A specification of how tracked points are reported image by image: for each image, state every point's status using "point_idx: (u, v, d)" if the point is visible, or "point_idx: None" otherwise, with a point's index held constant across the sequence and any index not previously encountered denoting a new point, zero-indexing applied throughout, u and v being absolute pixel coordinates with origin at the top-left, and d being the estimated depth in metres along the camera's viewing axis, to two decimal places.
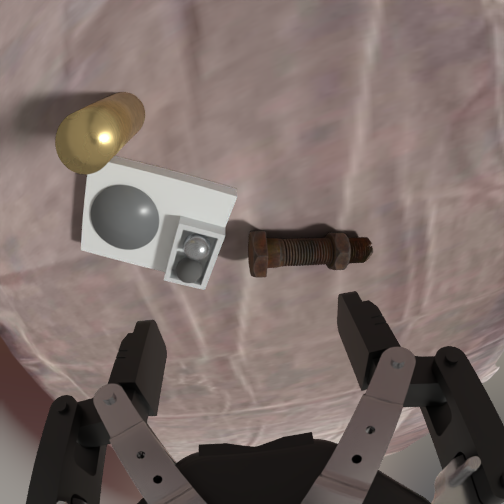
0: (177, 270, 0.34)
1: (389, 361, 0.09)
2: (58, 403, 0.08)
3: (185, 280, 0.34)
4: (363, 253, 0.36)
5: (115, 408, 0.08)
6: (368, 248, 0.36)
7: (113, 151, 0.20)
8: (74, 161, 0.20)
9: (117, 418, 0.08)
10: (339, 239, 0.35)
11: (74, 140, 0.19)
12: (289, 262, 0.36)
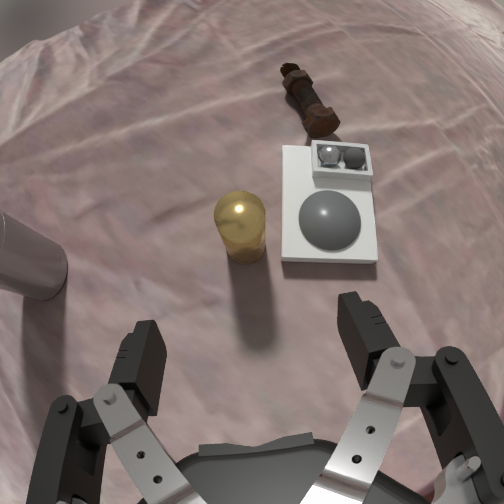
0: (355, 163, 0.38)
1: (389, 361, 0.09)
2: (58, 403, 0.08)
3: (359, 154, 0.38)
4: (289, 66, 0.45)
5: (115, 408, 0.08)
6: (284, 66, 0.45)
7: None
8: (255, 219, 0.30)
9: (117, 418, 0.08)
10: (286, 82, 0.44)
11: (238, 221, 0.30)
12: (316, 100, 0.42)
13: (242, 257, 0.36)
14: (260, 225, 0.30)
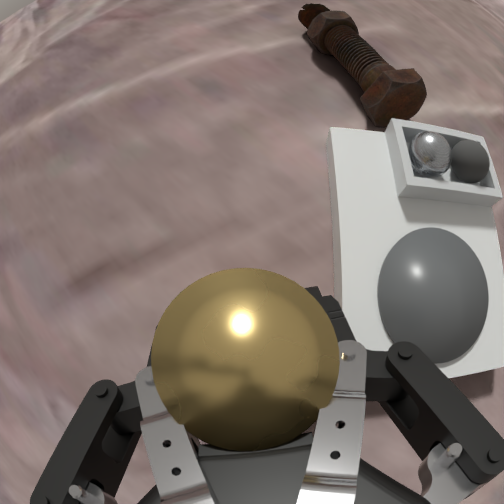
0: (478, 172, 0.15)
1: (339, 353, 0.09)
2: (98, 386, 0.09)
3: (485, 154, 0.15)
4: (314, 8, 0.22)
5: (155, 391, 0.09)
6: (306, 7, 0.23)
7: None
8: (304, 383, 0.07)
9: None
10: (315, 30, 0.22)
11: (239, 391, 0.07)
12: (378, 57, 0.19)
13: None
14: (321, 406, 0.07)
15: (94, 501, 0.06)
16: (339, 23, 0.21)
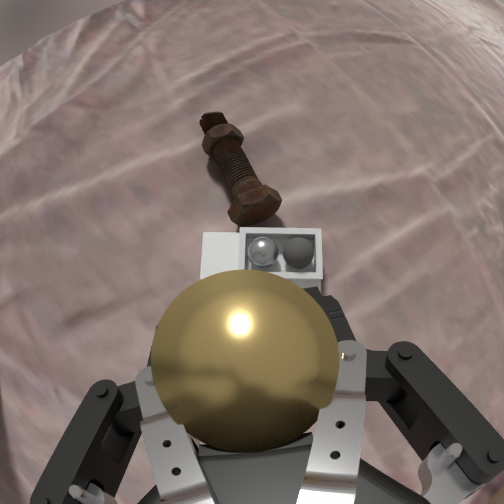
0: (297, 264, 0.29)
1: (339, 353, 0.09)
2: (98, 386, 0.09)
3: (304, 250, 0.28)
4: (209, 119, 0.35)
5: (155, 391, 0.09)
6: (203, 118, 0.36)
7: None
8: (304, 384, 0.07)
9: None
10: (206, 146, 0.35)
11: (239, 393, 0.07)
12: (244, 172, 0.32)
13: None
14: (321, 407, 0.07)
15: (94, 501, 0.06)
16: (222, 138, 0.34)
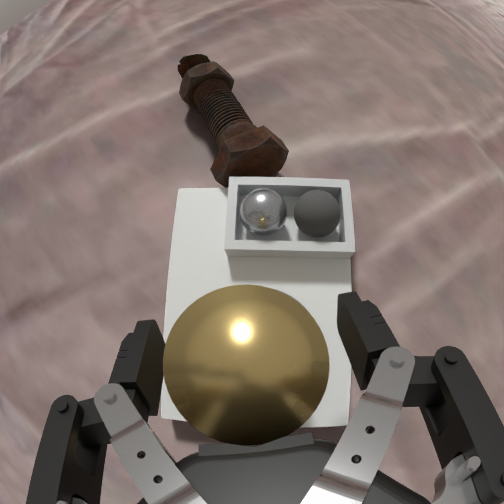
0: (317, 228, 0.18)
1: (388, 361, 0.09)
2: (58, 402, 0.08)
3: (327, 207, 0.18)
4: (189, 61, 0.25)
5: (116, 408, 0.08)
6: (182, 62, 0.25)
7: None
8: (298, 386, 0.08)
9: (118, 418, 0.08)
10: (184, 91, 0.24)
11: (241, 393, 0.09)
12: (235, 115, 0.22)
13: None
14: (313, 406, 0.08)
15: None
16: (205, 78, 0.23)
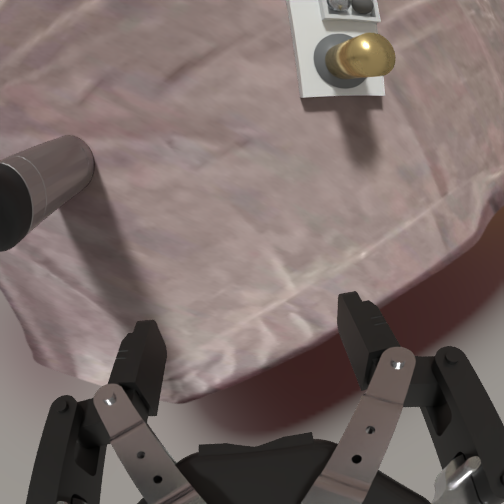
0: (365, 11, 0.29)
1: (389, 361, 0.09)
2: (58, 403, 0.08)
3: (369, 3, 0.28)
4: None
5: (115, 408, 0.08)
6: None
7: (372, 33, 0.24)
8: (388, 59, 0.26)
9: (117, 418, 0.08)
10: None
11: (375, 61, 0.26)
12: None
13: (352, 78, 0.33)
14: (392, 65, 0.26)
15: None
16: None
